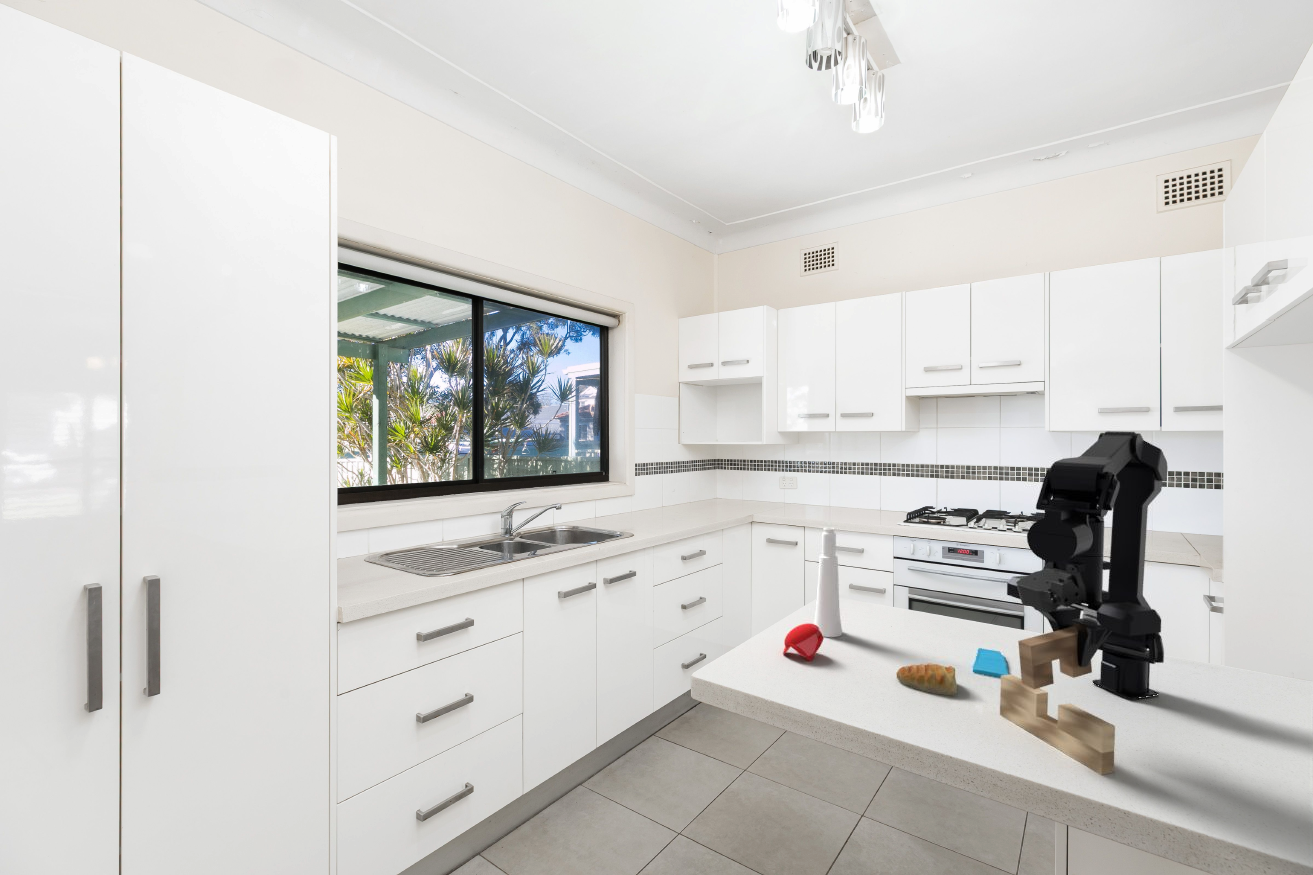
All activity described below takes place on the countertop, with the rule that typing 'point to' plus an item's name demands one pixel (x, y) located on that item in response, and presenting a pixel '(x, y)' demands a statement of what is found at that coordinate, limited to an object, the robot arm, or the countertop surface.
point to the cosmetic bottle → (828, 588)
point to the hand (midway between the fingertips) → (1074, 662)
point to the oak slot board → (1059, 725)
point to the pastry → (929, 678)
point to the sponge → (990, 663)
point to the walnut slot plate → (1050, 657)
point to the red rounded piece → (804, 640)
